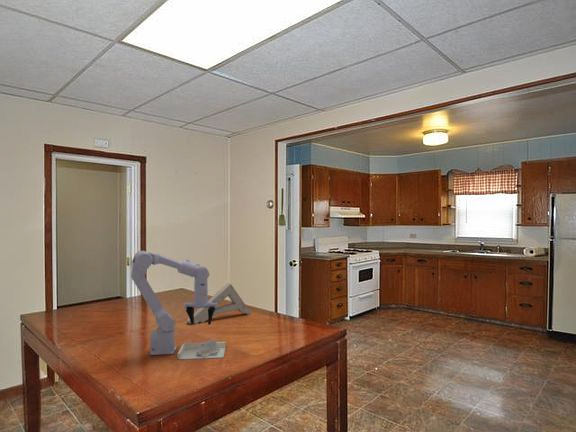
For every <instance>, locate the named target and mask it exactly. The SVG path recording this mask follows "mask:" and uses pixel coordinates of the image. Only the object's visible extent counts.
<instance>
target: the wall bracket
mask: <svg viewBox="0 0 576 432" xmlns="http://www.w3.org/2000/svg"><path fill="white" fill-rule="evenodd" d="M227 298H229V300H230V303H228V304H224V305H221V306H218V307H217V308H215V311H214V313H213V316H212V318H213V317H214V316H217V315H220V314H223V313H227V312H237V311H238V312H239V313H242V314H245V315H247V316H249V315H250V314H251V311H250V309H249V308H248V307H247V304H245V302H244V301H243V298H241V296H240V295H239V293H238V292H237V290H236V289H235V288H234V286H233V285H232V284H231V283H226V284H225V285H224V286H222V288H220V289H219V290H218V291H217V292H216V293H215V294H213V295H212V297H210V298H208V302H212V303H218V305H220V303H222V302H223V301H224V300H225V299H227ZM208 309H209V308H197V310H196V311H194V324H193V325H198V324H199V323H201V324H204V323H205V322H206V321H208ZM186 322H187V323H188V324H190V325H191V321H190V318H189V317H188V318H187V319H186Z"/></svg>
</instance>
